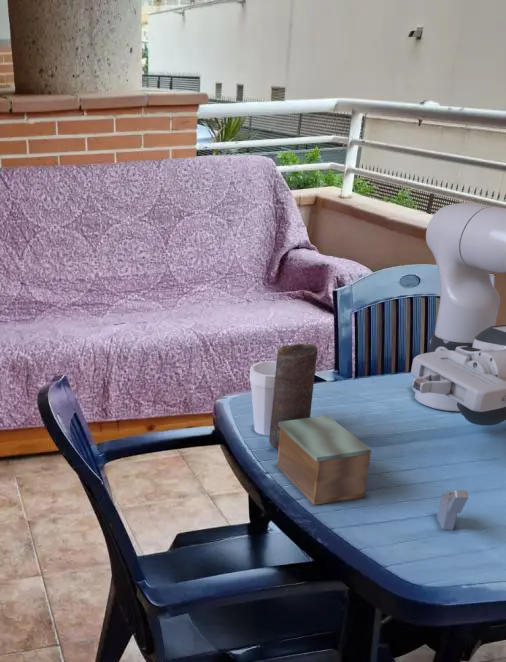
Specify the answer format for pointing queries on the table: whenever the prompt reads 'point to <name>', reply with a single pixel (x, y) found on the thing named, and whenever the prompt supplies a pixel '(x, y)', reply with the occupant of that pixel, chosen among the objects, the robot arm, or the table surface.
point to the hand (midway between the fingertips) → (416, 385)
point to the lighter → (451, 508)
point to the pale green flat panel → (323, 438)
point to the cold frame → (322, 473)
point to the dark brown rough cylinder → (292, 386)
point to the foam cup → (262, 394)
